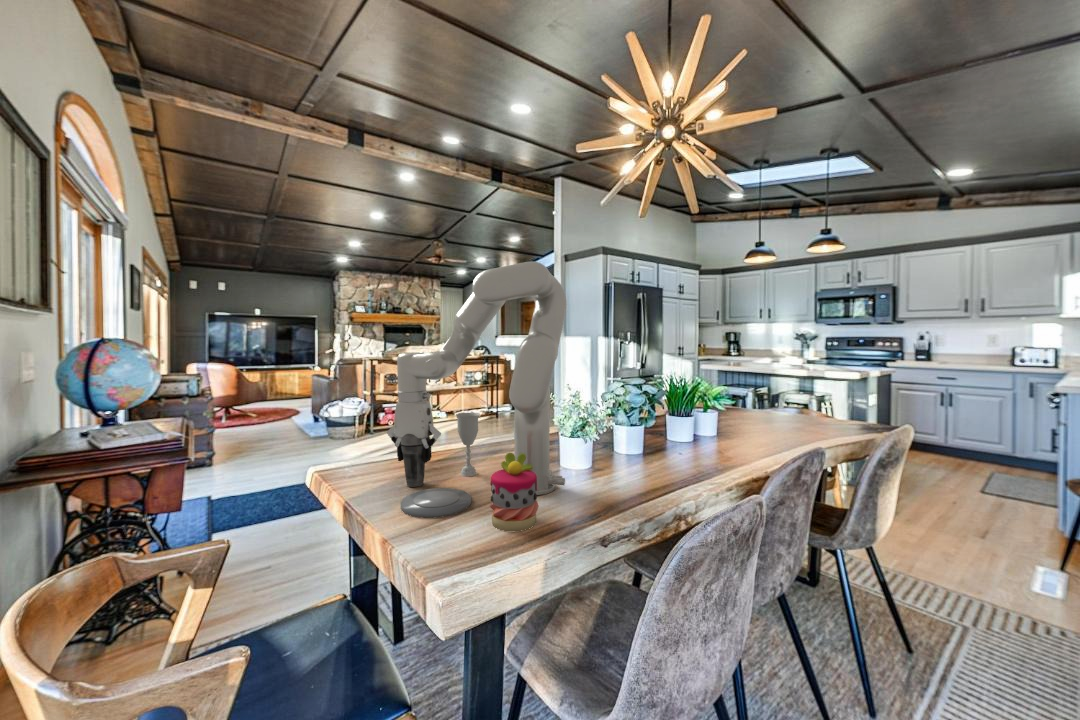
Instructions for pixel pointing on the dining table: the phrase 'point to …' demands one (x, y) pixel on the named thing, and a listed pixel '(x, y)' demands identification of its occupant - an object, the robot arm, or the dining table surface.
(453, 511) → the dish
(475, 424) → the chalice
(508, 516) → the cake
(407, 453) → the beverage cup
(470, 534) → the dining table surface
